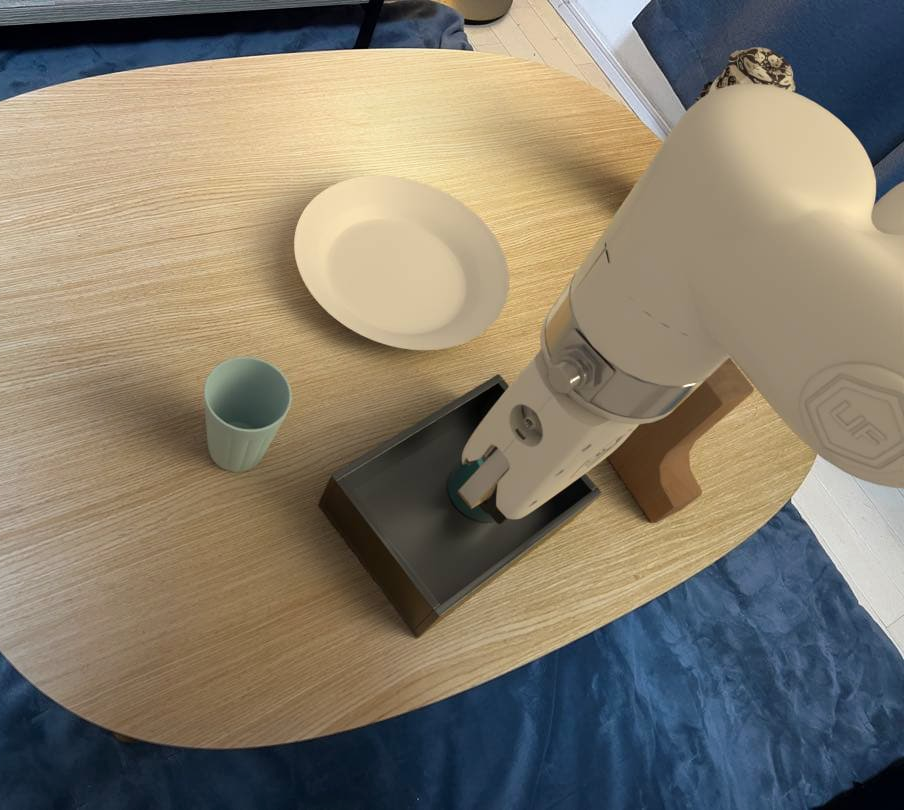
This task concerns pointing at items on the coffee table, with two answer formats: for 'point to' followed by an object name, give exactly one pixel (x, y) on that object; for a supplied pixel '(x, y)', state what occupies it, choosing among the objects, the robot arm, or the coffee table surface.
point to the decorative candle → (753, 71)
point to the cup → (244, 410)
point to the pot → (457, 480)
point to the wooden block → (676, 444)
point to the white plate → (401, 262)
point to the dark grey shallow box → (435, 515)
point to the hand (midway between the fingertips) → (491, 500)
